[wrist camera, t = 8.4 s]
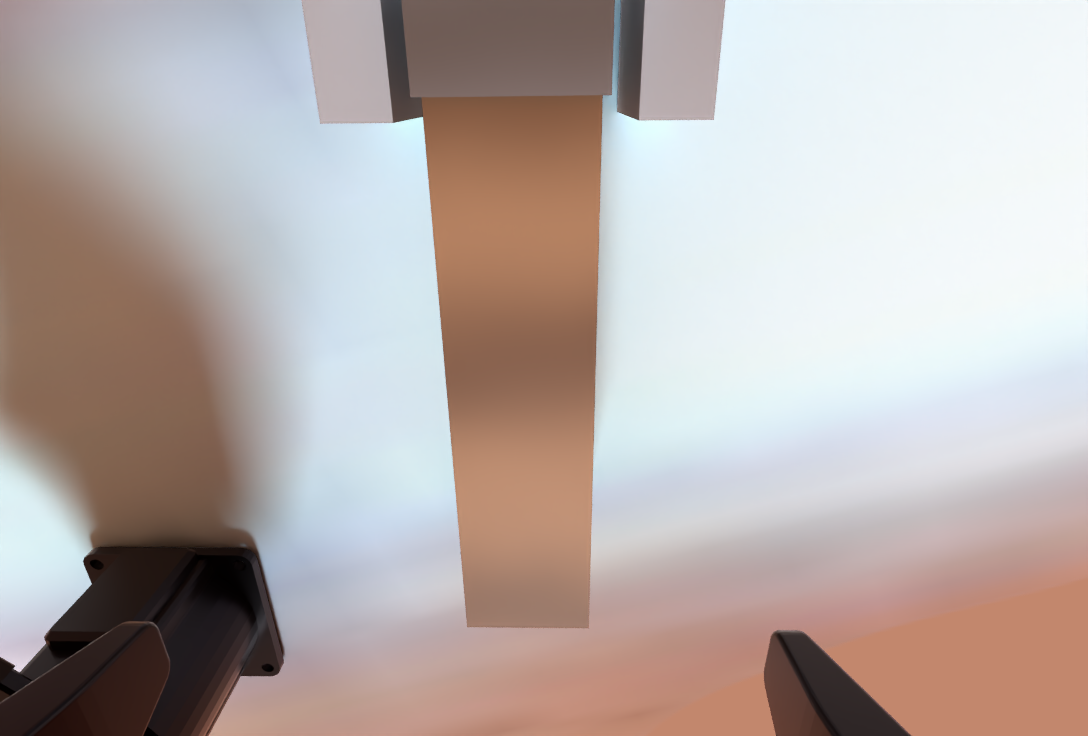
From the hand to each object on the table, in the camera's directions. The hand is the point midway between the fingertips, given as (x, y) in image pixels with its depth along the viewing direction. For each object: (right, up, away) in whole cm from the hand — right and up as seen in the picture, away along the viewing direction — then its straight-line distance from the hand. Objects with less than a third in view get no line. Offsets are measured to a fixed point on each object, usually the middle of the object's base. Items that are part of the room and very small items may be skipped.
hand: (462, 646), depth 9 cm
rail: (+1, +6, +10) cm, 12 cm away
